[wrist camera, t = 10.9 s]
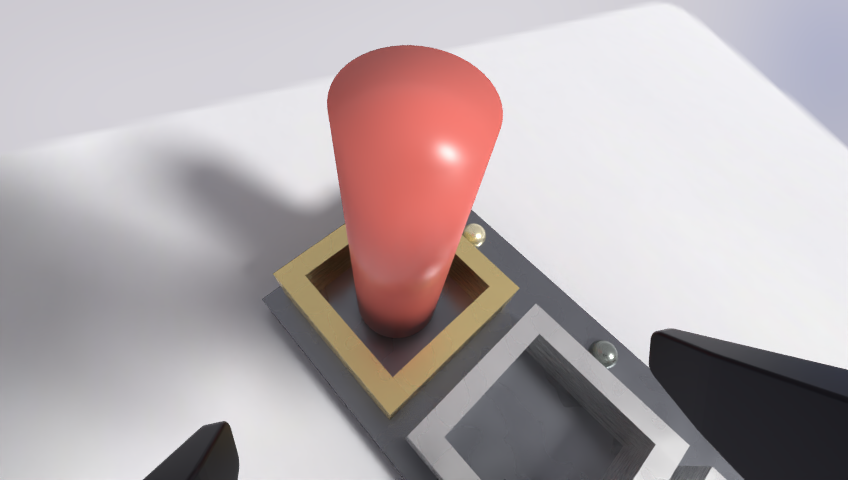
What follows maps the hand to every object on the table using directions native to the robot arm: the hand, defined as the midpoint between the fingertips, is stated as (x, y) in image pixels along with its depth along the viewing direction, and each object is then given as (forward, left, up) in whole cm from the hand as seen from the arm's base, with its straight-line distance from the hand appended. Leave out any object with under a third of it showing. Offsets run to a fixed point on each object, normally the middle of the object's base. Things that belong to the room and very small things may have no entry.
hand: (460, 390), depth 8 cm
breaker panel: (-4, -4, -12) cm, 14 cm away
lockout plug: (+5, -3, -11) cm, 12 cm away
